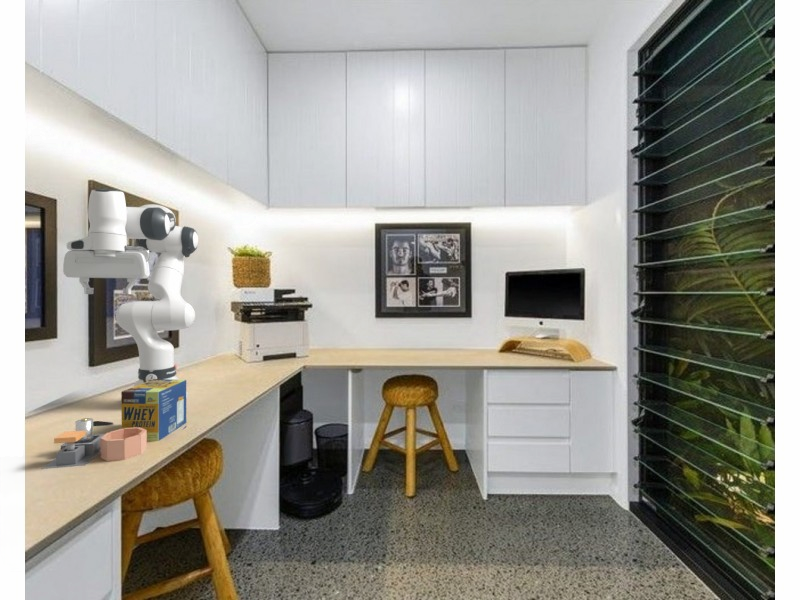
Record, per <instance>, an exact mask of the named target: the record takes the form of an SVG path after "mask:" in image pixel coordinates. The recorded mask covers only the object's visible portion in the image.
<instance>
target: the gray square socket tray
mask: <svg viewBox="0 0 800 600" xmlns="http://www.w3.org/2000/svg"><path fill="white" fill-rule="evenodd" d="M105 434H106V433H93V441H92V442H89V443H76V442H75V450H74V451H66V443H62V445H60V450H59V451H57V452H56V453H55V458H54V459H52V461H50V462H49V463H47V464H45V465H44V466H43V467H41V468H40V470H47V469H58V468H70V467H82V466H84V467H85V466H86V465H88V464H89V463H90V462H91V461H92V460H94V459H95V458H96V457H97V456H98V455H101V445H100V438H101V437H102V436H104V435H105Z"/></svg>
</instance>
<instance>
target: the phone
mask: <svg viewBox="0 0 800 600" xmlns="http://www.w3.org/2000/svg"><path fill="white" fill-rule="evenodd" d="M105 426H106V427H107V426H114V422H112V421H104V420H103V421H101V420H93V427H105Z"/></svg>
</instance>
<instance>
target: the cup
mask: <svg viewBox="0 0 800 600" xmlns="http://www.w3.org/2000/svg"><path fill="white" fill-rule="evenodd" d="M104 434H105V435H104V436H102V437H101V438H100V445H101V453H100V458H101V459H103V460H104V461H106V462H113V461H114V462H115V461H125V460H127V459H131V458H133V457H137V456H140V455H142V454H143V453H144V452H145V451H146V450H147V449H148V446H147V445H148V444H147V443H148V441H147V430H146V429H143V428H140V427H134V428H122V427H121V428H119V429H116V430H112V431H108V432H106V433H104Z"/></svg>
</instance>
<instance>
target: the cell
mask: <svg viewBox="0 0 800 600" xmlns="http://www.w3.org/2000/svg"><path fill="white" fill-rule="evenodd" d="M93 422H94V418H91V417H90V418H89V417H88V418H87V417H85V418H80V419H78V420H76V421H75V431H85V430H86V435H85V436H84V437H82V438H81V439H79V440H78V441H76V443H89V442H92V441H93V434H94V426H93Z"/></svg>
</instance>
